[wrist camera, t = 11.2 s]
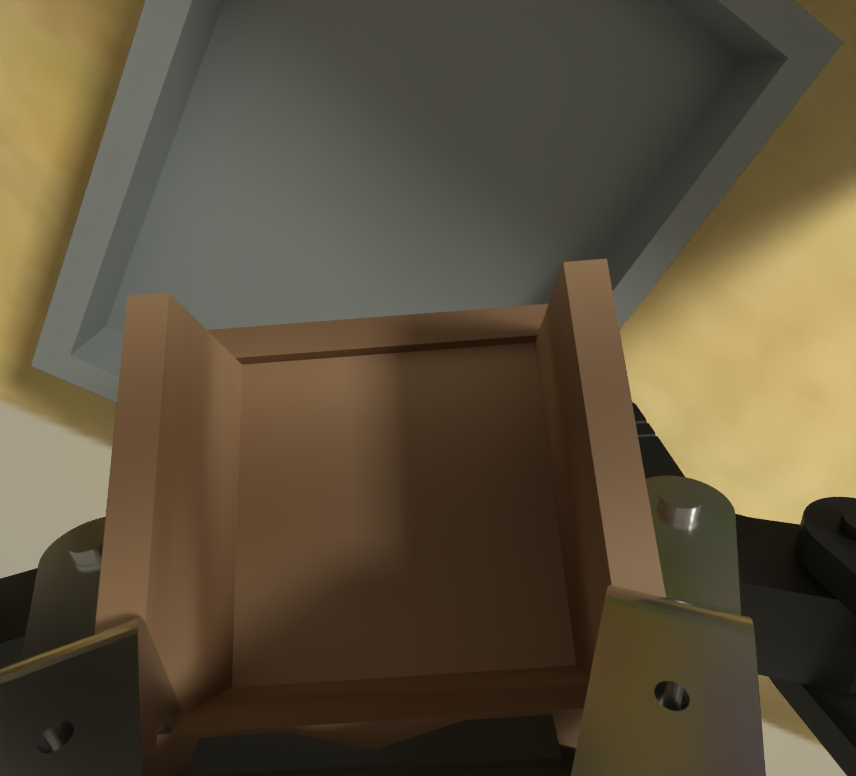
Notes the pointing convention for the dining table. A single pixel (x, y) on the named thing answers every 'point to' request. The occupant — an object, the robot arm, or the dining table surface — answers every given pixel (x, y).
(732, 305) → the dining table surface
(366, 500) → the wooden box
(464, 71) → the tray
